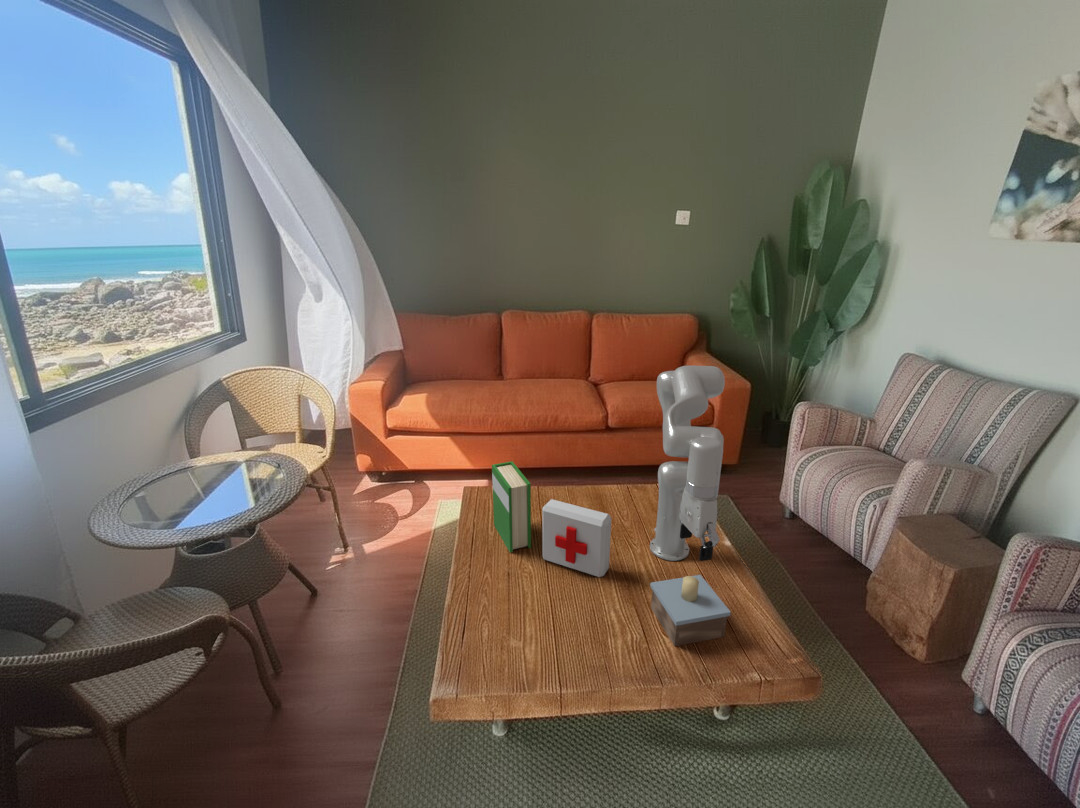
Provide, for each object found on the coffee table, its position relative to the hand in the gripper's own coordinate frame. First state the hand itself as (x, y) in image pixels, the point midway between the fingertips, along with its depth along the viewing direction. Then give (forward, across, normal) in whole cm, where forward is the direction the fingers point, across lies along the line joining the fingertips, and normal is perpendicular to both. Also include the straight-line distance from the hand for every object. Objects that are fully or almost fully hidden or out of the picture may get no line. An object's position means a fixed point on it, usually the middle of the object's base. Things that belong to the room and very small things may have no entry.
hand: (695, 548), depth 129 cm
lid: (+16, 0, 0) cm, 16 cm away
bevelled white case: (+24, -32, -22) cm, 45 cm away
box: (+24, -1, 0) cm, 24 cm away
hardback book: (+24, -52, -38) cm, 69 cm away
